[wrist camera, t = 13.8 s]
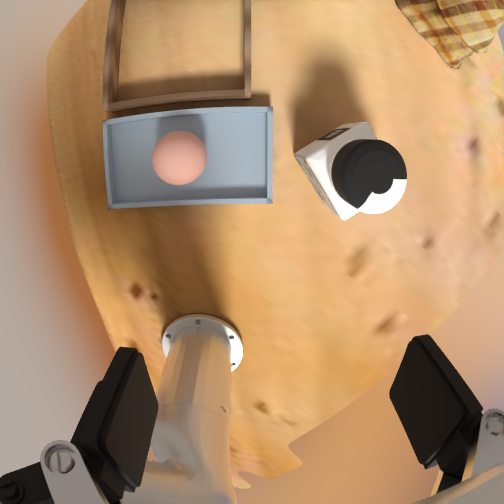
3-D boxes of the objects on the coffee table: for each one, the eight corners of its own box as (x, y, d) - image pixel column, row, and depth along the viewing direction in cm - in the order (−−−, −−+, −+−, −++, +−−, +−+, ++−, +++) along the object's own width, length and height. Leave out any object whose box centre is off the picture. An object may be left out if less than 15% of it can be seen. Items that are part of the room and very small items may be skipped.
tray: (270, 199, 35) (272, 203, 33) (115, 205, 35) (108, 209, 33) (271, 109, 31) (272, 106, 29) (110, 121, 31) (102, 120, 29)
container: (292, 154, 33) (319, 161, 21) (343, 123, 32) (392, 117, 20) (324, 206, 36) (362, 239, 24) (372, 175, 34) (428, 195, 22)
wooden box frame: (250, 99, 31) (251, 95, 28) (112, 111, 30) (102, 110, 28) (250, -21, 24) (250, -32, 21) (122, -5, 24) (114, -13, 21)
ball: (211, 180, 33) (203, 187, 28) (162, 182, 33) (145, 190, 28) (210, 130, 31) (201, 127, 26) (160, 134, 31) (143, 132, 26)
